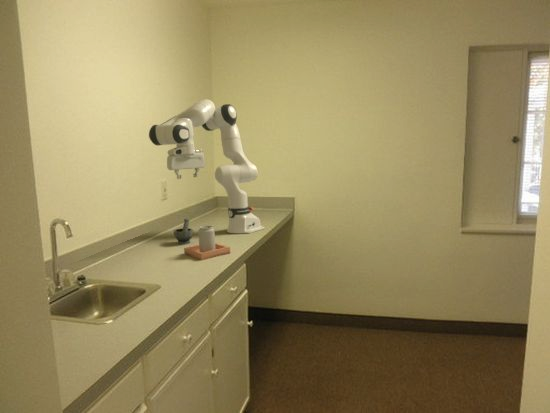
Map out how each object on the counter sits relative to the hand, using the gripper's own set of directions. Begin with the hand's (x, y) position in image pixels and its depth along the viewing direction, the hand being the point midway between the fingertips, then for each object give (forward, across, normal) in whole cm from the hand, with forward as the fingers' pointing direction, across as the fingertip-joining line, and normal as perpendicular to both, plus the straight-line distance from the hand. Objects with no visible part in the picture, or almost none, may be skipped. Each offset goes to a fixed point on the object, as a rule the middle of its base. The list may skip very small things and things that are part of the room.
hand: (187, 177), depth 213 cm
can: (+33, +6, +24) cm, 42 cm away
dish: (+34, +6, +24) cm, 42 cm away
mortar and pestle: (+34, +2, -4) cm, 35 cm away
